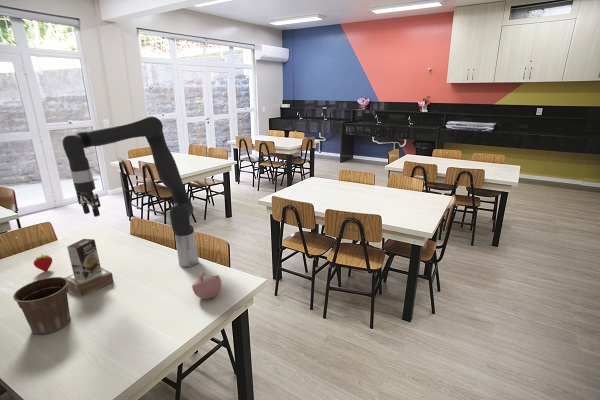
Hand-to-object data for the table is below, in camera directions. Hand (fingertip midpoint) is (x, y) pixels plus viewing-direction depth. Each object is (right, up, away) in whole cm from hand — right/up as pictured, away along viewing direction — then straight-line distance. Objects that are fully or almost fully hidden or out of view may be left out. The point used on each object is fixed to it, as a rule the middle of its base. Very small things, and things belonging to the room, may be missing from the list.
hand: (92, 214), depth 149 cm
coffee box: (-3, -28, +2) cm, 28 cm away
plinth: (-3, -33, +4) cm, 33 cm away
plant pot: (-1, -41, -22) cm, 47 cm away
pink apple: (+55, -35, -6) cm, 65 cm away
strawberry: (-34, -29, +17) cm, 48 cm away
